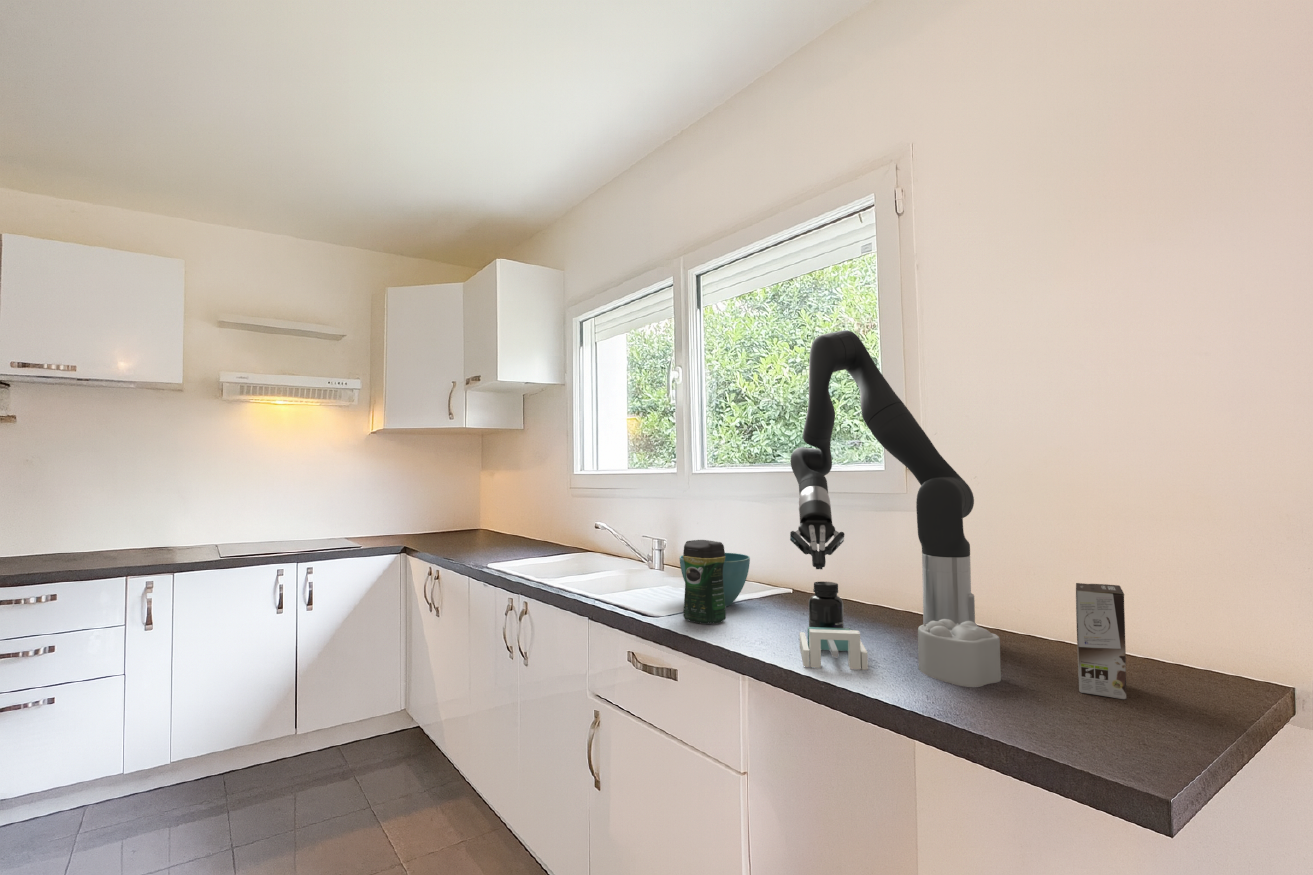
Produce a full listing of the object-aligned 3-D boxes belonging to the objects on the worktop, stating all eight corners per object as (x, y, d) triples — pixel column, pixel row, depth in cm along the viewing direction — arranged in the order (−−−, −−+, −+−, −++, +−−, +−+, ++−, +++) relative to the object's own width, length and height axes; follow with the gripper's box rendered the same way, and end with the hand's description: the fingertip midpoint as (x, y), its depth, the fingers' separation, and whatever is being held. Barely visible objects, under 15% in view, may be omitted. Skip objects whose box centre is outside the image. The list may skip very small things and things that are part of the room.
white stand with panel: (857, 649, 130) (857, 617, 131) (867, 669, 118) (867, 634, 118) (799, 647, 132) (799, 615, 132) (803, 667, 119) (803, 631, 120)
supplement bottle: (845, 648, 132) (844, 586, 132) (809, 646, 133) (808, 585, 134) (842, 639, 138) (841, 580, 139) (808, 637, 140) (807, 579, 140)
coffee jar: (731, 621, 155) (731, 540, 156) (708, 627, 149) (708, 543, 150) (700, 614, 162) (700, 537, 163) (677, 619, 156) (677, 539, 157)
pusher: (850, 649, 130) (849, 628, 130) (858, 667, 118) (858, 644, 118) (807, 647, 131) (807, 626, 131) (812, 665, 119) (812, 642, 119)
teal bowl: (705, 614, 162) (705, 563, 162) (666, 601, 178) (666, 554, 178) (764, 606, 171) (764, 558, 171) (722, 594, 187) (722, 550, 187)
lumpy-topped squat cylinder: (968, 689, 107) (966, 634, 108) (903, 668, 119) (902, 618, 119) (1009, 679, 112) (1007, 627, 113) (943, 660, 124) (942, 612, 124)
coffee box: (1128, 700, 102) (1124, 593, 103) (1078, 693, 105) (1075, 589, 106) (1124, 684, 110) (1121, 584, 110) (1078, 677, 113) (1075, 581, 114)
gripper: (787, 498, 162) (789, 556, 150) (844, 498, 160) (851, 557, 147) (786, 518, 167) (789, 576, 155) (841, 519, 165) (848, 578, 152)
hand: (819, 567), depth 151 cm, fingers closed
